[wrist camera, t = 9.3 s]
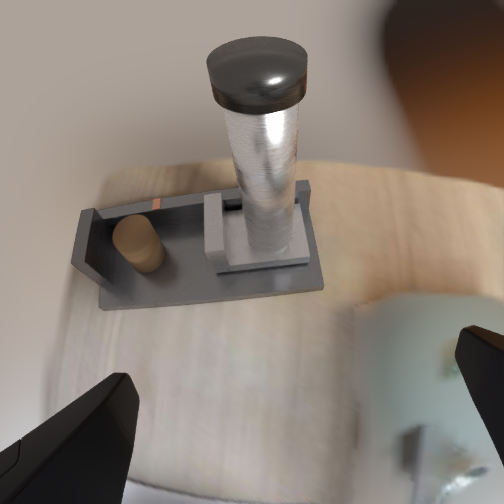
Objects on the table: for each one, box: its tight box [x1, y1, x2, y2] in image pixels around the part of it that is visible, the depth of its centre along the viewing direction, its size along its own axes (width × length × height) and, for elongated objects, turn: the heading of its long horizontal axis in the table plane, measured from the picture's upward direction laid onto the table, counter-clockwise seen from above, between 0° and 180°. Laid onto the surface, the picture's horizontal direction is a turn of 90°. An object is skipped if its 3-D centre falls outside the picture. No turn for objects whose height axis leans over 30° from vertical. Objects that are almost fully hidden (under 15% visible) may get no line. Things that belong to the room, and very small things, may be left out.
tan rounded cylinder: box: [112, 214, 165, 273], centre depth 22 cm, size 3×3×4 cm
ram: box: [204, 36, 310, 273], centre depth 16 cm, size 7×4×15 cm, turn 95°
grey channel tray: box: [71, 180, 324, 311], centre depth 22 cm, size 17×8×5 cm, turn 95°
